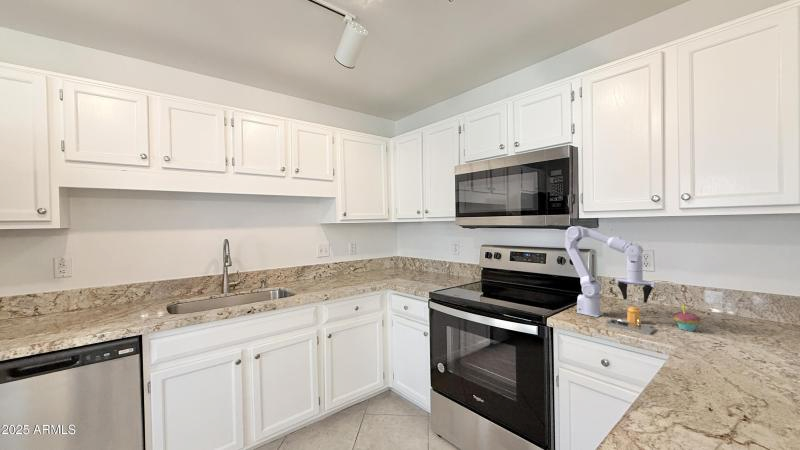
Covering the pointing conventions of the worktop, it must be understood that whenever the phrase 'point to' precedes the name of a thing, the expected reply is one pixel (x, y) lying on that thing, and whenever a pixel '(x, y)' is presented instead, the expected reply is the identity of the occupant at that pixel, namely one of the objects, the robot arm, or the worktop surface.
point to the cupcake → (686, 320)
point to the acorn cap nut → (633, 314)
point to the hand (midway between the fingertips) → (635, 300)
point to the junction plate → (631, 325)
